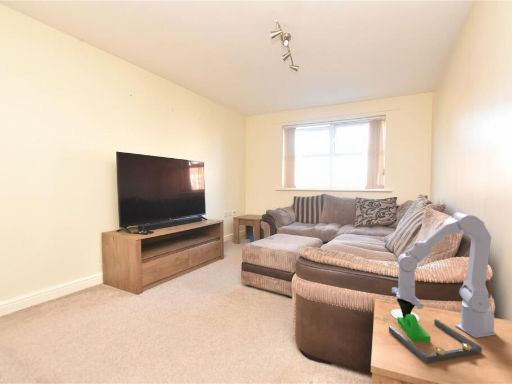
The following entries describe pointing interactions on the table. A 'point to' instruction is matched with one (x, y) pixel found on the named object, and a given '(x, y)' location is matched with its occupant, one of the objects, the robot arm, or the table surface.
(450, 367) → the table surface
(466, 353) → the grey frame
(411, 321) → the mechanical part
